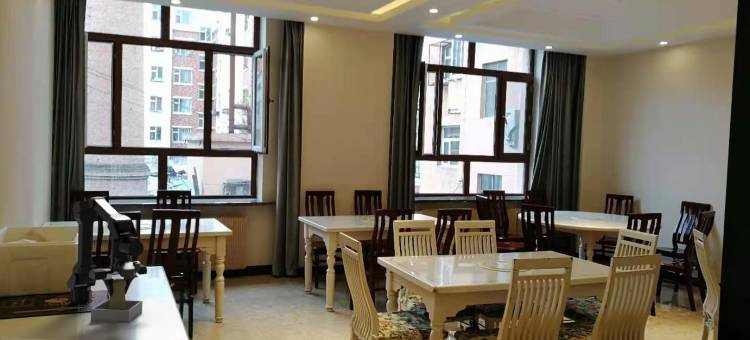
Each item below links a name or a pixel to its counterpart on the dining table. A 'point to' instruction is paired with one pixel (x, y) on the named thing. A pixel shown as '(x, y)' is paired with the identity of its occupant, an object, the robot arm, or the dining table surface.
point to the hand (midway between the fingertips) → (117, 295)
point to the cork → (118, 295)
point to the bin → (116, 312)
